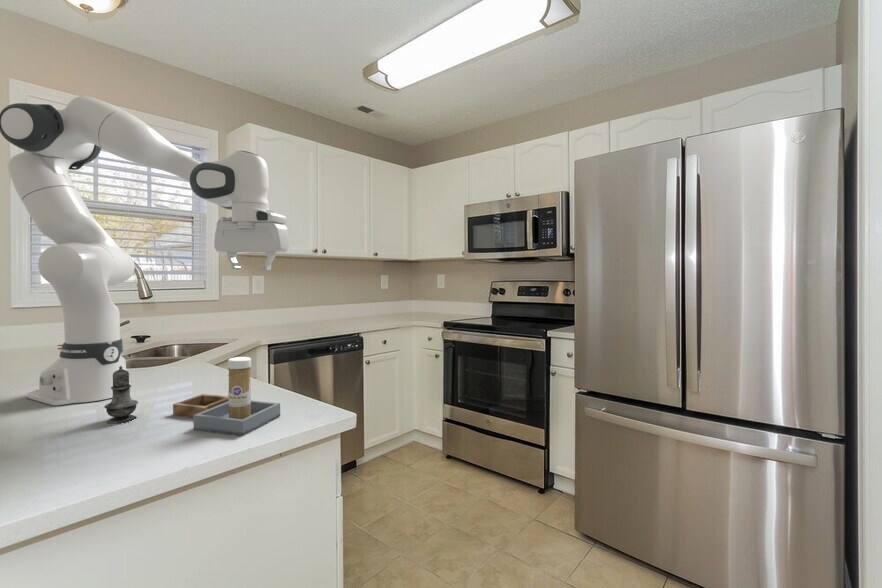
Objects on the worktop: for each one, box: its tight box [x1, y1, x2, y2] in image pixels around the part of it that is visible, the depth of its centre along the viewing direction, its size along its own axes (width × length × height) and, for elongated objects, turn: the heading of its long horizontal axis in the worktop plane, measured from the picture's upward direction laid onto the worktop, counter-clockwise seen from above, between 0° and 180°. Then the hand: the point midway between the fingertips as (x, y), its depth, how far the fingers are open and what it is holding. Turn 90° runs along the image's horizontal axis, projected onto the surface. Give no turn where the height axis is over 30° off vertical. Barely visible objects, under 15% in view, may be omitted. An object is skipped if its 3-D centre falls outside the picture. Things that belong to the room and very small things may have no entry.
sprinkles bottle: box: [227, 356, 252, 419], centre depth 92 cm, size 5×5×13 cm
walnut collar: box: [172, 393, 228, 419], centre depth 99 cm, size 9×9×2 cm
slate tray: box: [193, 399, 281, 436], centre depth 92 cm, size 12×12×3 cm
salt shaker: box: [103, 366, 139, 425], centre depth 92 cm, size 6×6×12 cm
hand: (251, 269), depth 110 cm, fingers open, 8 cm apart
